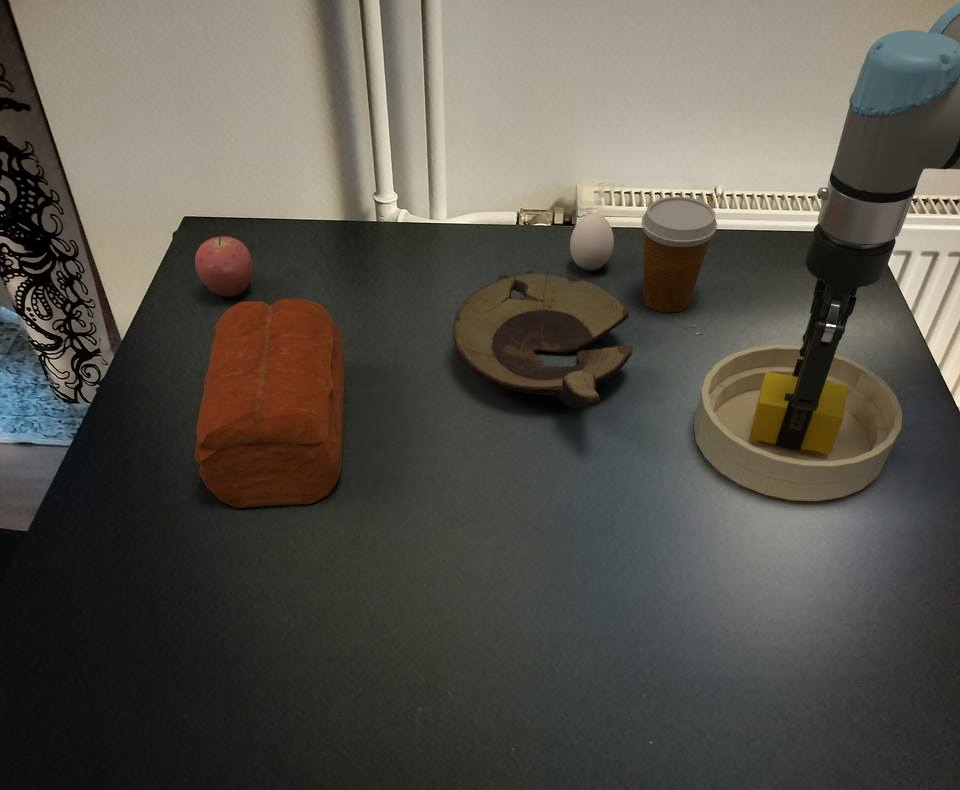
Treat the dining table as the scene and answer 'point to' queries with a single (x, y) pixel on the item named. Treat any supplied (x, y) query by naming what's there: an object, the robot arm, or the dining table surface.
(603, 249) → the egg
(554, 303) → the broken ceramic plate
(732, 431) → the bowl
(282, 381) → the bread
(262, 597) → the dining table surface
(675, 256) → the disposable coffee cup
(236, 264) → the apple
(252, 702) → the dining table surface
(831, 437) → the sponge
